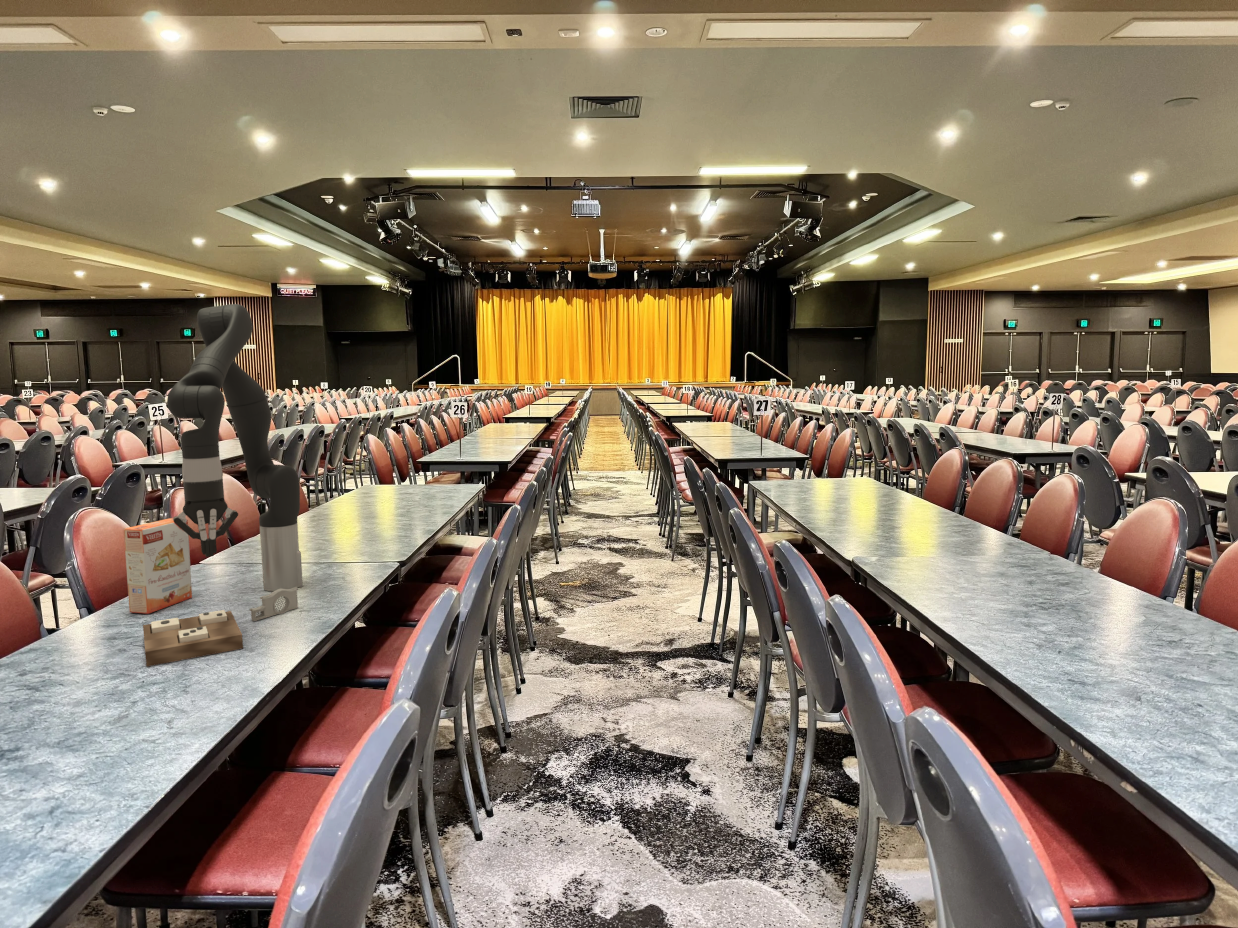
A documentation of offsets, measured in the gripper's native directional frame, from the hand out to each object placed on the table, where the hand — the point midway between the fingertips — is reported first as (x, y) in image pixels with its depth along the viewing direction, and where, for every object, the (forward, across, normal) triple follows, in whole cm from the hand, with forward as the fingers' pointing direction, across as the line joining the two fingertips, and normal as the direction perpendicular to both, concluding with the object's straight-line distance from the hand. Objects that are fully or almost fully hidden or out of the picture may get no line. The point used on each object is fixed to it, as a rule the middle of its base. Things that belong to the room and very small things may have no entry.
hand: (209, 555), depth 161 cm
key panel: (+17, +5, +6) cm, 19 cm away
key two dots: (+17, 0, +1) cm, 17 cm away
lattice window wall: (+18, -13, -5) cm, 23 cm away
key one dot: (+17, +9, +1) cm, 19 cm away
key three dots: (+17, +5, +11) cm, 20 cm away
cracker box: (+18, +9, -29) cm, 35 cm away
